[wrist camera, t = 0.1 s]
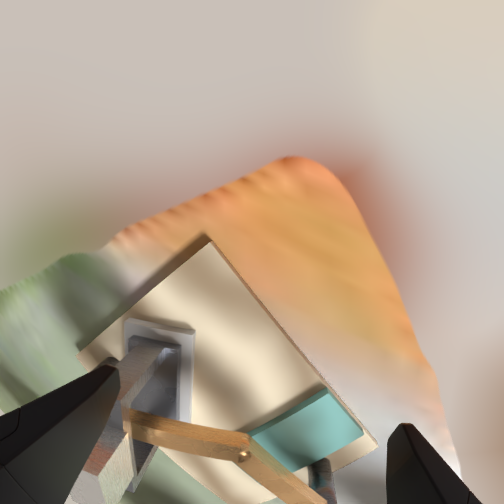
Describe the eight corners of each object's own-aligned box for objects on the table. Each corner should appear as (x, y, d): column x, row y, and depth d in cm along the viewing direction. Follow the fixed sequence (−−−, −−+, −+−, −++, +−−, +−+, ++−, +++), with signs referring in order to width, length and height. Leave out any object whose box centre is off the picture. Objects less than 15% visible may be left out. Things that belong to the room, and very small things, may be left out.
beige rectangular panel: (239, 504, 27) (237, 517, 25) (80, 351, 26) (69, 360, 24) (376, 440, 25) (381, 453, 23) (212, 240, 24) (206, 243, 22)
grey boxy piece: (137, 418, 24) (71, 514, 12) (133, 334, 23) (34, 420, 11) (179, 429, 24) (128, 537, 11) (181, 344, 23) (104, 451, 10)
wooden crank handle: (321, 474, 25) (327, 528, 17) (100, 369, 25) (57, 409, 18) (360, 433, 24) (377, 488, 16) (119, 316, 24) (70, 349, 17)
